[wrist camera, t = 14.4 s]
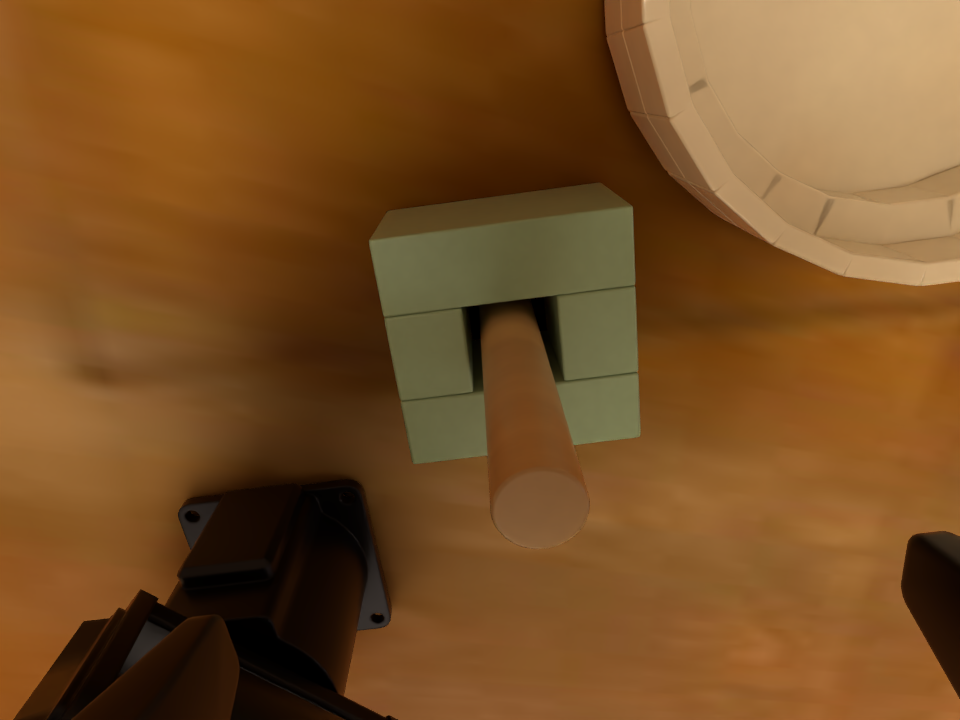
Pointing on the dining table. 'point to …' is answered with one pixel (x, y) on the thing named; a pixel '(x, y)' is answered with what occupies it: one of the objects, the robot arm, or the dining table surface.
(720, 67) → the bowl
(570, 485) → the stick
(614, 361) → the stand
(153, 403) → the dining table surface
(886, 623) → the dining table surface
